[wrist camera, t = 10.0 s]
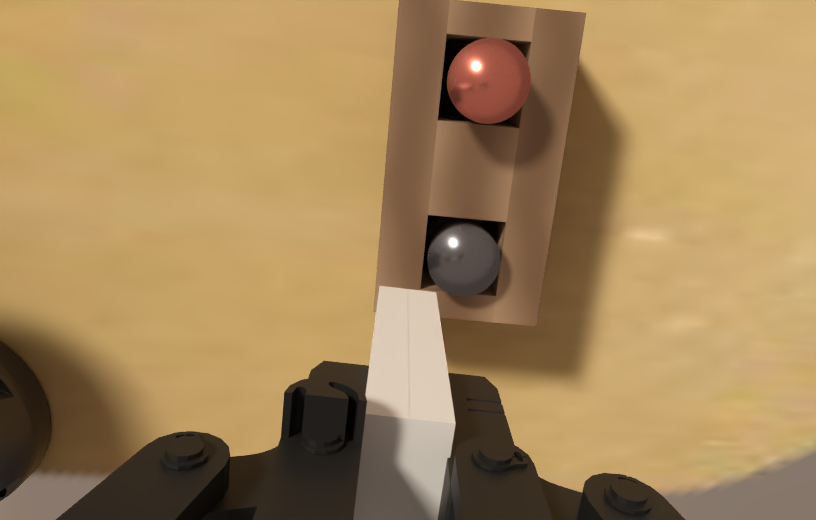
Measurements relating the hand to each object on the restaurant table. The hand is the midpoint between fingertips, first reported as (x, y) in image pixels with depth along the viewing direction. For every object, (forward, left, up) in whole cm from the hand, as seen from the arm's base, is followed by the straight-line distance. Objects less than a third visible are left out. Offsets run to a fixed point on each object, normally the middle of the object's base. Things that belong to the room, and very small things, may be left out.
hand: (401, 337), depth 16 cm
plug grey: (+3, -3, -27) cm, 27 cm away
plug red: (+3, +7, -25) cm, 26 cm away
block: (+3, +2, -27) cm, 27 cm away
